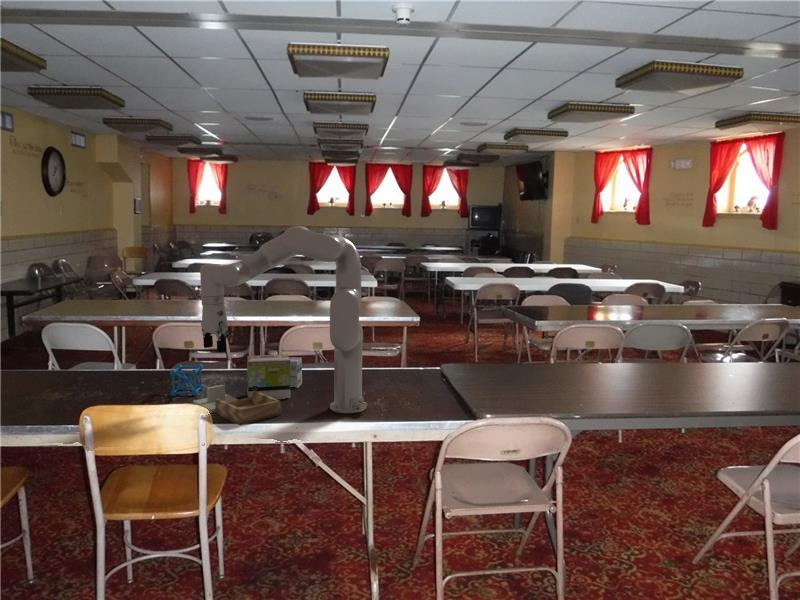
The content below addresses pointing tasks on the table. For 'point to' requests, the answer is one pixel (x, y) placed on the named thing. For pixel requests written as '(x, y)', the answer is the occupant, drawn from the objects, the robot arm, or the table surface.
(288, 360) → the tea box
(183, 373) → the molecular structure
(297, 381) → the light bulb box
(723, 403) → the table surface
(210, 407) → the cover plate
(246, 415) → the oak box
